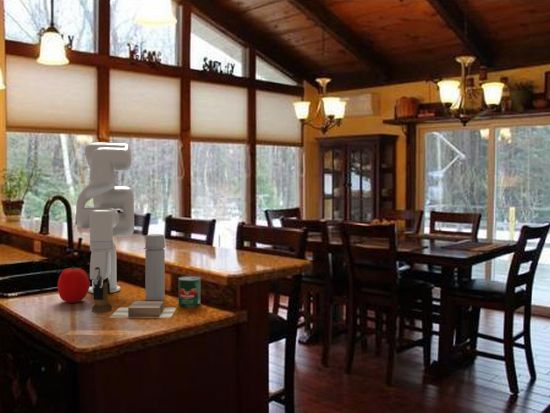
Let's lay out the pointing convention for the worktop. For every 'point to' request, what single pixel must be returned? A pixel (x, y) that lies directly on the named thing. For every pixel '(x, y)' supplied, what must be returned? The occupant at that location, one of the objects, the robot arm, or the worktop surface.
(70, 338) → the worktop surface
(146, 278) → the water bottle
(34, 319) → the worktop surface
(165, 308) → the birch board
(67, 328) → the worktop surface
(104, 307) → the brown wooden pepper mill
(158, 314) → the walnut base block
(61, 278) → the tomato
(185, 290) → the canned tomato
